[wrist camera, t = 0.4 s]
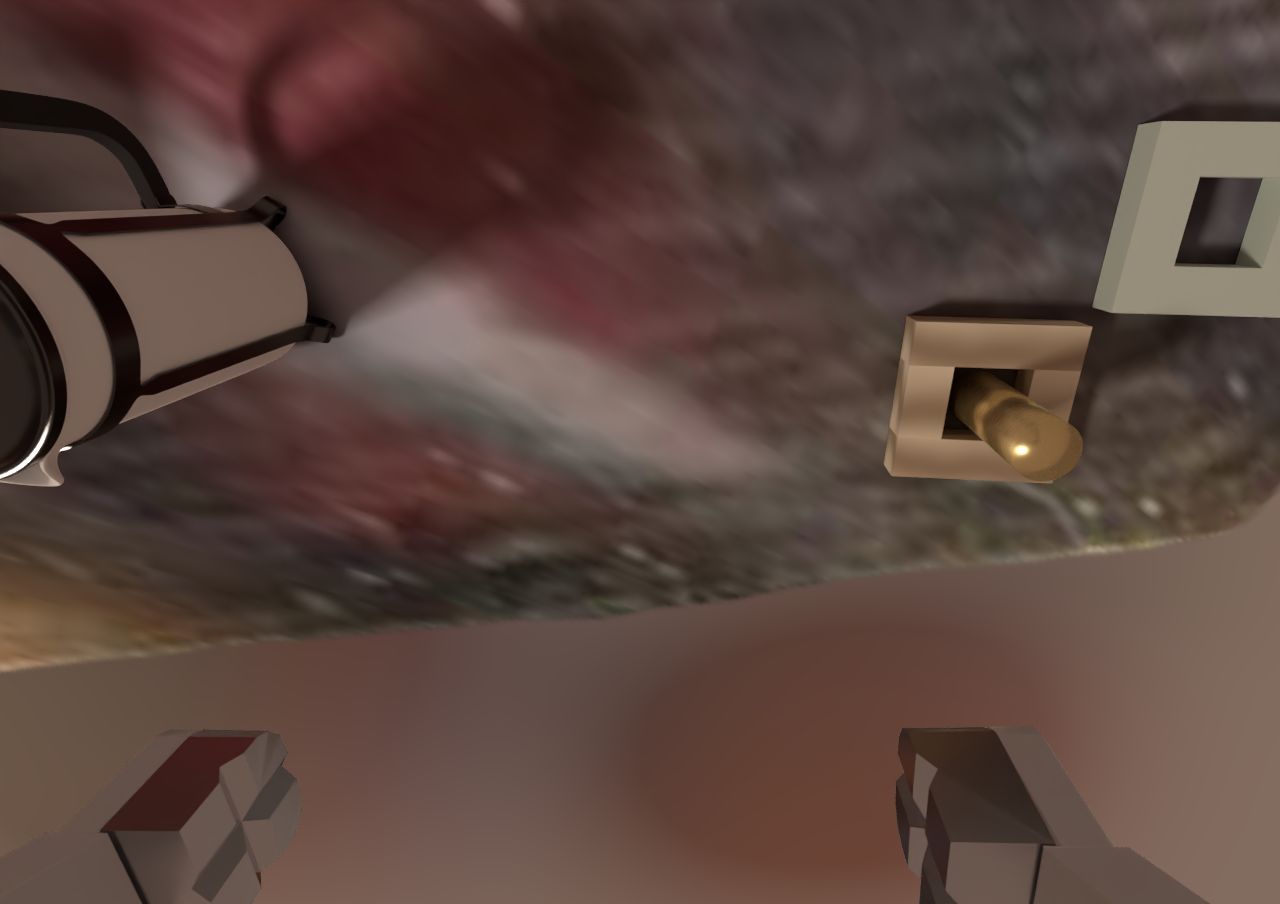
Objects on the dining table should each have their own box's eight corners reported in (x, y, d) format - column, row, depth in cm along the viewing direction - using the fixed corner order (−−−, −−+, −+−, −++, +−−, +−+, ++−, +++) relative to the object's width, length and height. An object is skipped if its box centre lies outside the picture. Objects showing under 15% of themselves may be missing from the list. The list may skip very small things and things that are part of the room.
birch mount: (906, 315, 51) (916, 321, 48) (1074, 320, 50) (1092, 326, 47) (883, 463, 55) (891, 475, 53) (1037, 470, 54) (1052, 483, 52)
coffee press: (379, 251, 52) (10, 321, 24) (297, 410, 58) (-80, 615, 30) (174, 110, 50) (-496, 8, 22) (109, 289, 55) (-494, 391, 27)
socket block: (1138, 124, 45) (1162, 120, 43) (1332, 126, 44) (1367, 122, 42) (1092, 306, 49) (1111, 312, 47) (1267, 311, 48) (1295, 317, 46)
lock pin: (952, 369, 52) (1020, 418, 41) (1006, 371, 51) (1090, 421, 40) (943, 419, 53) (1006, 479, 42) (995, 421, 53) (1073, 483, 42)
